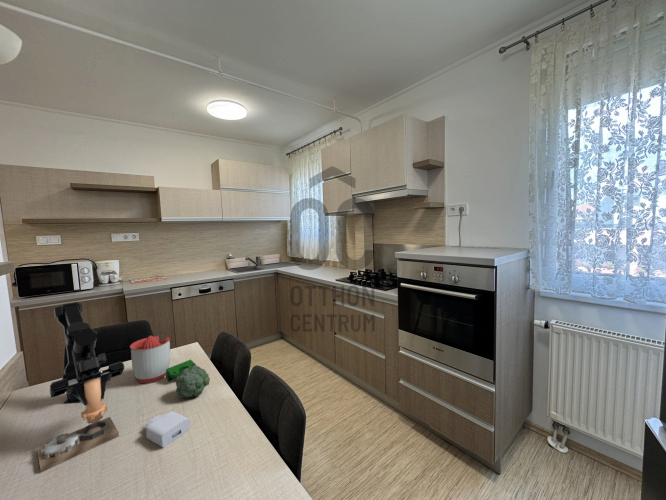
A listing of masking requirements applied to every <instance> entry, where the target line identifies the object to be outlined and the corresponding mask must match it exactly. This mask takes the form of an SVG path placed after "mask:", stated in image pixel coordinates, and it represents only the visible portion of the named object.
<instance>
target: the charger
mask: <svg viewBox="0 0 666 500" xmlns="http://www.w3.org/2000/svg"><path fill="white" fill-rule="evenodd" d="M146 421H147V422H146V424H145V425H144V426H145V427H146V428H145V429H146V430H145V431H146V439H148V440H149V441H151V442H152V443H154V444H157V445H158V446H160V447H161V448H166V447H168V446H169V445H170V444H172V443H174V442H175V441H176V440H177V439H179V438H180V437H182V436H183V435H184V434H186V433H188V432H189V431H190V429H191V425H190V418H188V417H186V416H183V415H181V414H180V413H177V412H175V411H170V412H167V413H165V414H164V415H161V414H160V415H156V416H152V417H151V419H147V420H146Z"/></svg>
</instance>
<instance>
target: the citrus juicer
mask: <svg viewBox="0 0 666 500" xmlns="http://www.w3.org/2000/svg"><path fill="white" fill-rule="evenodd" d="M170 340H171V338H170V337H169V336H167V337H165V339H164V341H162V340H160V337H159V335H156V336H155V335H154V336H153V335H149V336H148V337H146V338H142V339H139V340H136V341H134V342H132V343H131V344H130V345H129V349H130V353H131V355H130V357H131V358H130V359H131V366H132V367H131V368H132V372H133V375H134V377H135V379H136V380H137V381H138V382H139V383H140V384H148V383H155V382H158V381H159V380H161V379H163V378H164V377H165V378H166V369H168V368H170V364H171V343H170Z"/></svg>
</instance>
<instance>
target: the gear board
mask: <svg viewBox="0 0 666 500" xmlns="http://www.w3.org/2000/svg"><path fill="white" fill-rule="evenodd" d="M119 433H120V432H119V430H118V428H117V426H116V425H115V423H114V422H113V420H112V418H111V417H110V416H109V417H106V418H104V419H103V418H102V419H101V420H99V421H97V422H95V423H89V424H88V425H87V426H84V427H82V428H80V429H77V430H75V431H72V432H70V433H68V432H67V433H66V432H65V433H61V434H58V435H57V436H55V437H54V438H52V439H51V441H48V442H46V443H44V444H42V445H39V446H37V447H36V448H37V457H38V463H39V470H40V473H43V472H45V471H47V470H49V469H52V468H54V467H56V466H58V465H60V464H62V463H64V462H67V461H68V460H70V459H73V458H75V457H77V456H79V455H81V454H84V453H86V452H89V451H90V450H92V449H94V448H97V447H98V446H102V445H103V444H105V443H107V442H110V441H111V440H113V439H116V438H118V437H120V434H119Z"/></svg>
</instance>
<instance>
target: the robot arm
mask: <svg viewBox="0 0 666 500" xmlns="http://www.w3.org/2000/svg"><path fill="white" fill-rule="evenodd" d="M83 313H84V309H83V303H80V302H76V301H73V302H66V303H64V304H62V305H59V306H57V307H55V308H54V309H53V316H54V319H56V322H57V323H58V324H59V325H60V326H61V327H62V328H63V335H64V341H65V342H64V343H65V348H66V355H67V356H66V357H67V358H66V359H67V364H66V366H65V368H64V370H63V375H62V376H61V379H60V380H55V381H52V382H51V383H50V385H49V394H50V398H56V397H59V396H61V395H64V394H66V399H65V400H64V401H63V404H72V403H73V404H74V403H81V404H82V405H83V406H85V407H86V405H87V403H86V399H85V389H84V383H85V382H87V381H89V380H92V379H100V385H101V397H102V400H104V398H105V393H106V392H105V391H106V388H107V384H108V382H109V381H111V379H112V378H116V377H118V376H122V375H123V373H124V371H125V364H124V362H122V361H118V362H114V363H111V364H109V365H108V368H106V369H103V370H101V365H102V364H105V363H107V355H106V352H103V353H100V354H98V355H97V356H96V352H95V348H96V345H97V344H96V343H97V339H98V337H99V332H98V331H95V329H94V328H92V327H91V325H90V324H89V323H87V322H85V321H84V319H83V316H82V314H83Z"/></svg>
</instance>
